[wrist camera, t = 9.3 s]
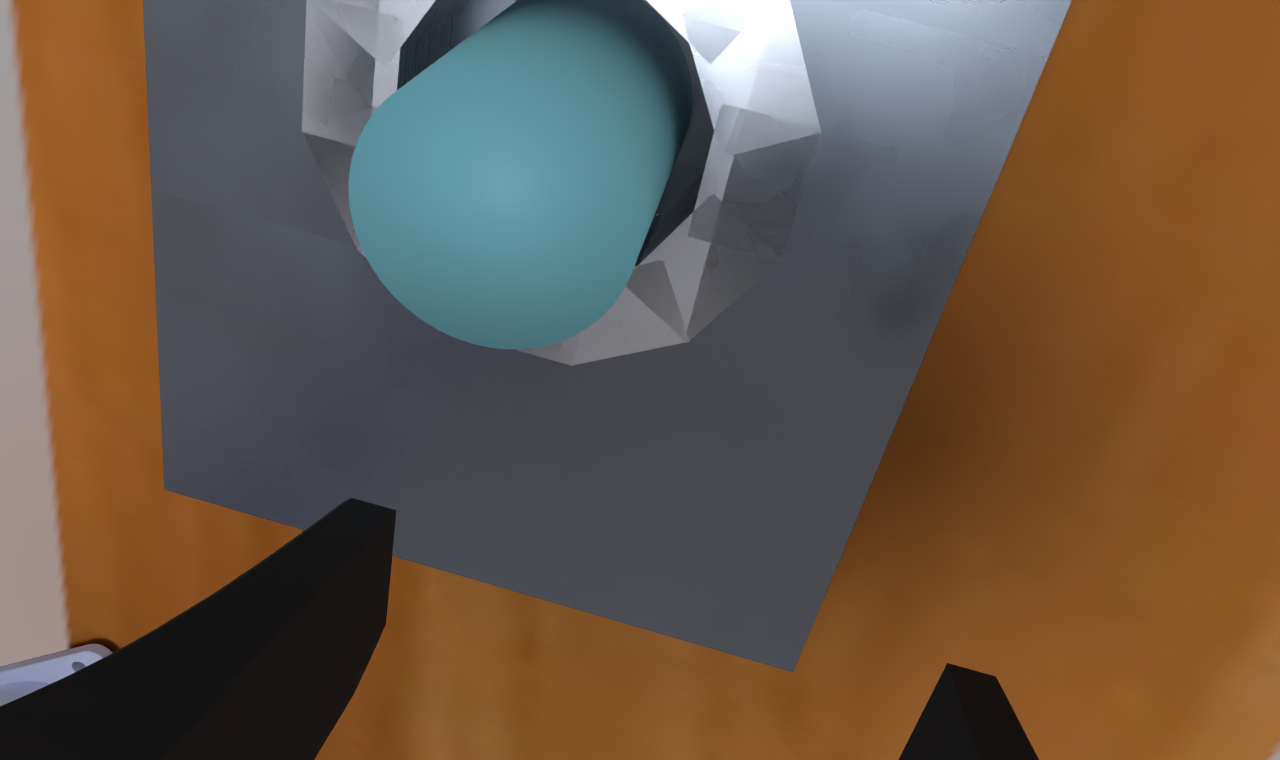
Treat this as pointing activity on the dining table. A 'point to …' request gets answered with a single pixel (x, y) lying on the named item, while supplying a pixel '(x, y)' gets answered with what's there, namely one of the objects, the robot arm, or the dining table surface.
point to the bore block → (616, 343)
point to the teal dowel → (523, 170)
